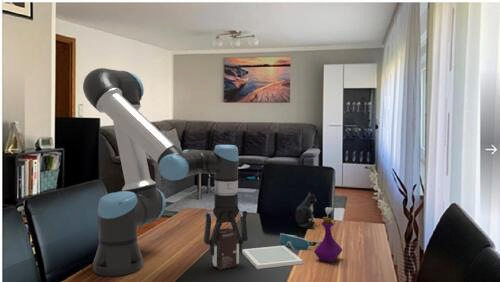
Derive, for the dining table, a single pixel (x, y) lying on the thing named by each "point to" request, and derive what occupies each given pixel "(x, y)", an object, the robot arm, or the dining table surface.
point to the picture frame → (271, 257)
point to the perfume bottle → (328, 241)
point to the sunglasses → (296, 242)
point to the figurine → (306, 212)
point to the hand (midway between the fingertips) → (225, 263)
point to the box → (226, 248)
